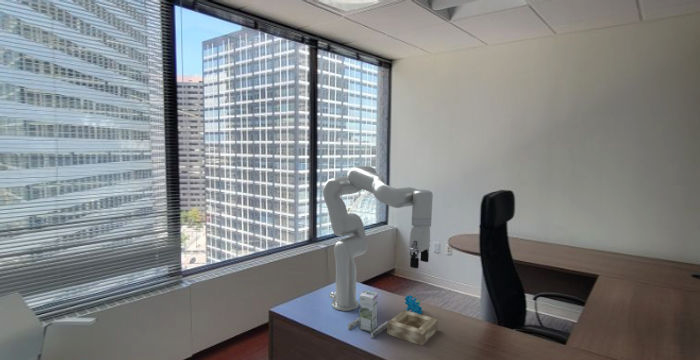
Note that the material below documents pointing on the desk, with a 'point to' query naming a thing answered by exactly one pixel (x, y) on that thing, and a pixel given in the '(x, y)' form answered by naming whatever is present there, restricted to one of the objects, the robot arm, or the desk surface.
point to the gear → (413, 305)
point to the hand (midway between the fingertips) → (419, 264)
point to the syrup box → (368, 311)
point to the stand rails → (373, 334)
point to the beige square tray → (412, 327)
